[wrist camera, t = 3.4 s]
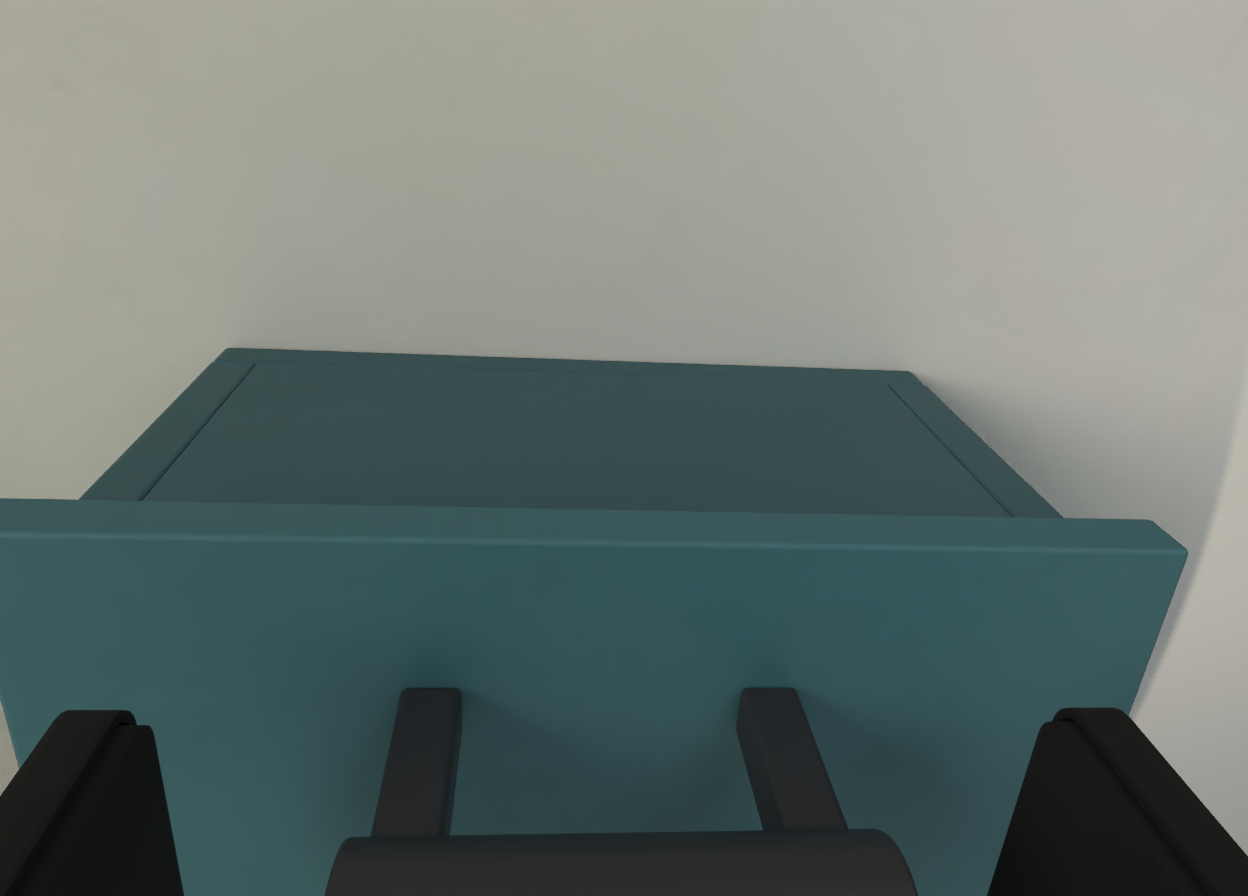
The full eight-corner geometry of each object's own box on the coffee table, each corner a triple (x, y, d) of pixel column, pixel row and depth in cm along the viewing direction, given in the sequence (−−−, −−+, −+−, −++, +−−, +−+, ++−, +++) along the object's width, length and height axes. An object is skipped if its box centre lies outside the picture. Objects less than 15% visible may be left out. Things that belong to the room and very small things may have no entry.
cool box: (225, 346, 18) (12, 563, 11) (911, 370, 19) (1128, 576, 12) (294, 915, 24) (191, 1284, 17) (801, 903, 25) (900, 1241, 18)
